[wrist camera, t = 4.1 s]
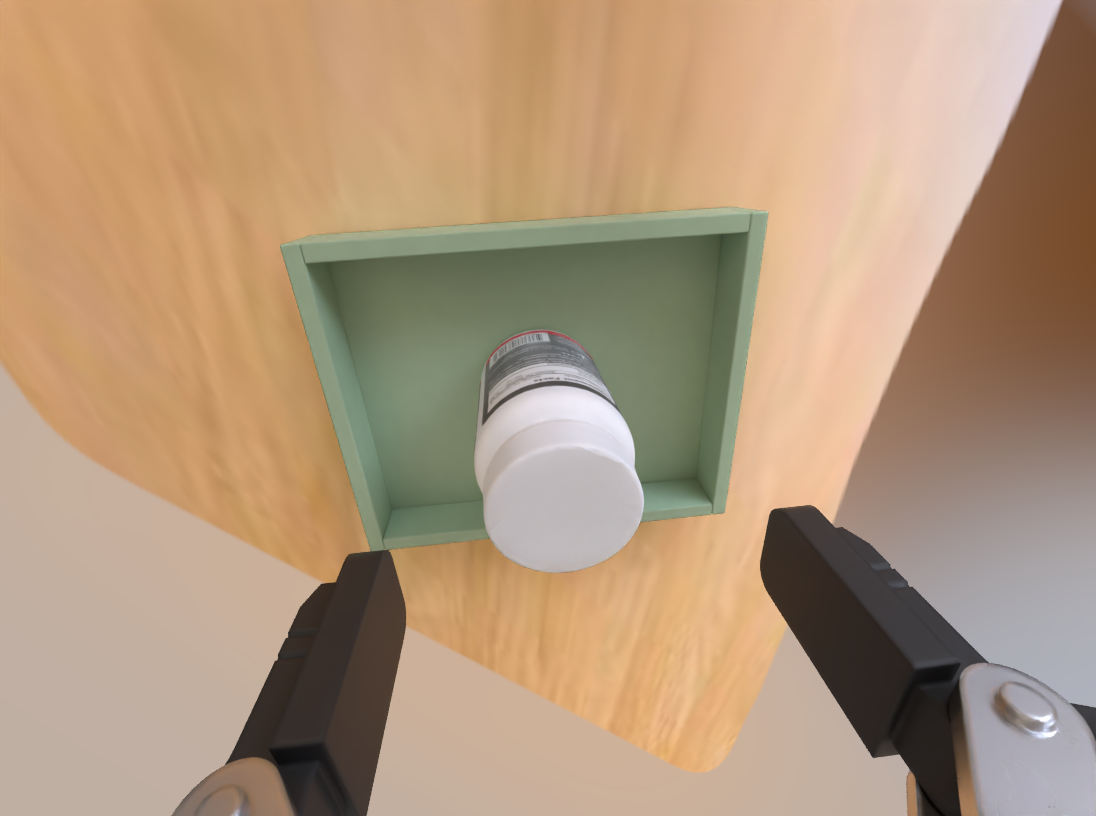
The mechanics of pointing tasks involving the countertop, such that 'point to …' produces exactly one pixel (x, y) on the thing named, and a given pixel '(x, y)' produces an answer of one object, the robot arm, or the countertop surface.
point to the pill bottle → (553, 456)
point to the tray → (517, 306)
